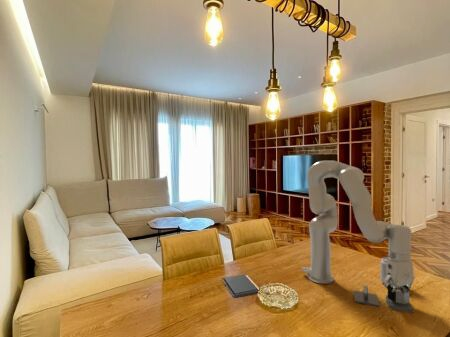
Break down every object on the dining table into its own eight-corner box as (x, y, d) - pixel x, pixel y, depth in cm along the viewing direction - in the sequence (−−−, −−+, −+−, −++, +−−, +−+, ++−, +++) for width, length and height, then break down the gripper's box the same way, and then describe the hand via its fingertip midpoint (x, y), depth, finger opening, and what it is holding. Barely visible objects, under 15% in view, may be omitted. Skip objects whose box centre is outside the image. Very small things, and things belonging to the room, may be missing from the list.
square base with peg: (389, 308, 102) (389, 292, 102) (385, 298, 110) (385, 283, 109) (413, 313, 99) (413, 297, 99) (407, 302, 106) (408, 287, 106)
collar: (400, 304, 100) (400, 294, 100) (385, 296, 106) (385, 286, 106) (412, 302, 102) (413, 291, 102) (397, 293, 108) (397, 283, 108)
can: (401, 288, 118) (402, 262, 118) (384, 286, 120) (384, 261, 119) (394, 280, 126) (394, 256, 125) (377, 279, 127) (378, 255, 127)
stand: (354, 302, 107) (354, 288, 107) (353, 292, 115) (353, 279, 115) (379, 307, 103) (379, 292, 103) (376, 296, 111) (376, 282, 111)
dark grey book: (220, 275, 130) (247, 271, 134) (220, 279, 130) (247, 275, 134) (232, 295, 111) (264, 290, 115) (232, 300, 111) (264, 294, 115)
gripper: (391, 261, 98) (390, 307, 98) (424, 256, 102) (423, 299, 103) (374, 254, 105) (374, 297, 105) (406, 250, 110) (405, 290, 110)
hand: (398, 298), depth 104 cm, fingers closed on collar, 6 cm apart
